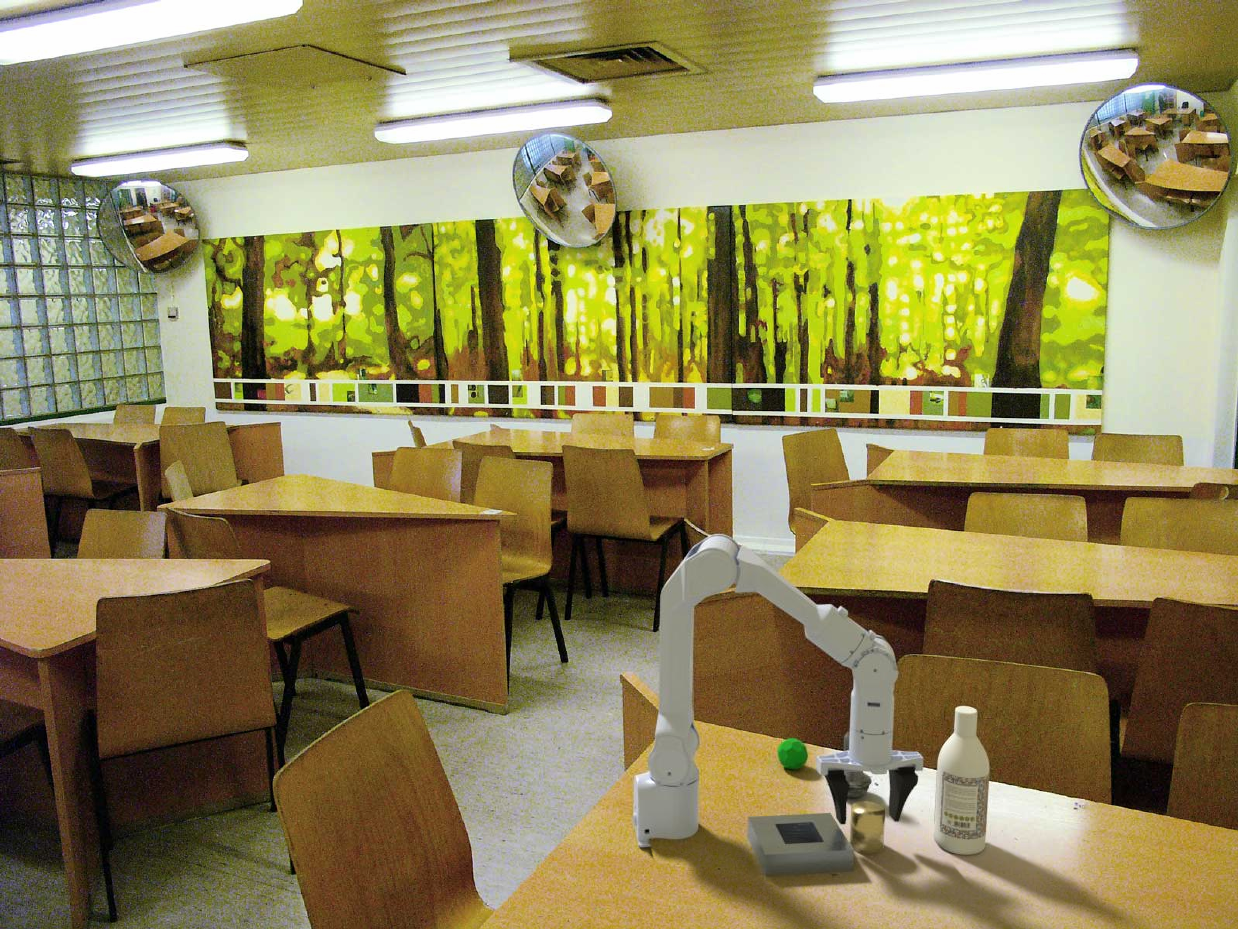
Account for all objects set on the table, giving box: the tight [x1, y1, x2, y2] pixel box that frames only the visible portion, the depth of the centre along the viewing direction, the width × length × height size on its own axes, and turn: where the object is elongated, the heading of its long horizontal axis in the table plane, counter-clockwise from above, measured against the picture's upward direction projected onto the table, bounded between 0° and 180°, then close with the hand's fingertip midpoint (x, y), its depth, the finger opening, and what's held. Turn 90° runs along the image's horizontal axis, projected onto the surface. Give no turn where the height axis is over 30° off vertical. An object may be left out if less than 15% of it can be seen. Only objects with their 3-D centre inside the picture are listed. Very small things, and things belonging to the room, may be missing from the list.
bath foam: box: [933, 705, 991, 856], centre depth 139 cm, size 7×7×20 cm
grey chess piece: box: [843, 731, 872, 799], centre depth 152 cm, size 6×6×12 cm
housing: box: [747, 812, 855, 877], centre depth 136 cm, size 12×10×4 cm
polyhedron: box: [776, 737, 809, 770], centre depth 164 cm, size 5×5×5 cm
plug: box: [849, 800, 886, 856], centre depth 137 cm, size 5×5×6 cm
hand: (867, 819), depth 137 cm, fingers open, 7 cm apart
